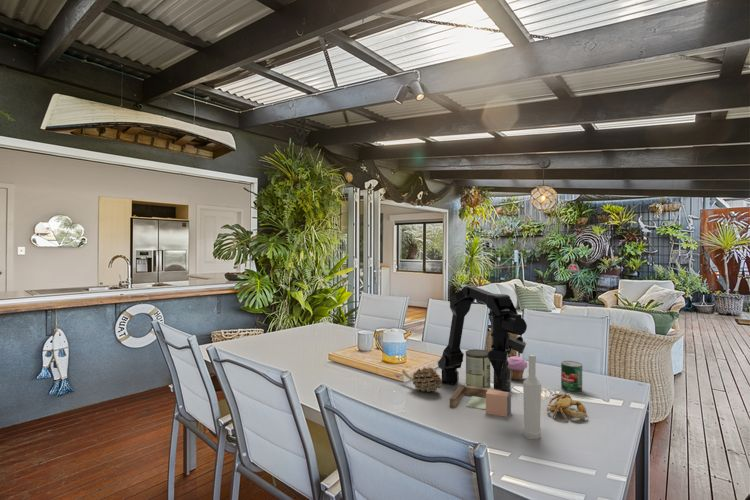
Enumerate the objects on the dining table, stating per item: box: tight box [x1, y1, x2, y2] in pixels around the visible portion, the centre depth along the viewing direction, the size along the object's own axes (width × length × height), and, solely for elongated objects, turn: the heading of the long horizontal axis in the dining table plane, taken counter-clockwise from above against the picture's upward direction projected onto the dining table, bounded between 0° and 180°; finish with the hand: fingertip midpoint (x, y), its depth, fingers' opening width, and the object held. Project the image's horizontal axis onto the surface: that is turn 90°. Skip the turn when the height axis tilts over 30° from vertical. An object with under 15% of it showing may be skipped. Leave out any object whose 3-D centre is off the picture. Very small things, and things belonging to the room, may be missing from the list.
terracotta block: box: [485, 388, 512, 418], centre depth 145 cm, size 8×4×7 cm, turn 65°
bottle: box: [522, 354, 542, 440], centre depth 127 cm, size 5×5×25 cm
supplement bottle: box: [493, 359, 512, 392], centre depth 168 cm, size 7×7×12 cm
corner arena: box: [449, 384, 501, 411], centre depth 154 cm, size 16×17×3 cm
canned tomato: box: [560, 360, 583, 395], centre depth 167 cm, size 8×8×11 cm
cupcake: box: [507, 355, 528, 381], centre depth 182 cm, size 9×9×10 cm
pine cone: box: [401, 366, 443, 393], centre depth 168 cm, size 22×10×10 cm, turn 44°
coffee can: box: [465, 348, 491, 389], centre depth 173 cm, size 10×10×14 cm
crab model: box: [546, 392, 589, 422], centre depth 144 cm, size 16×13×6 cm
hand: (500, 373), depth 146 cm, fingers open, 9 cm apart
